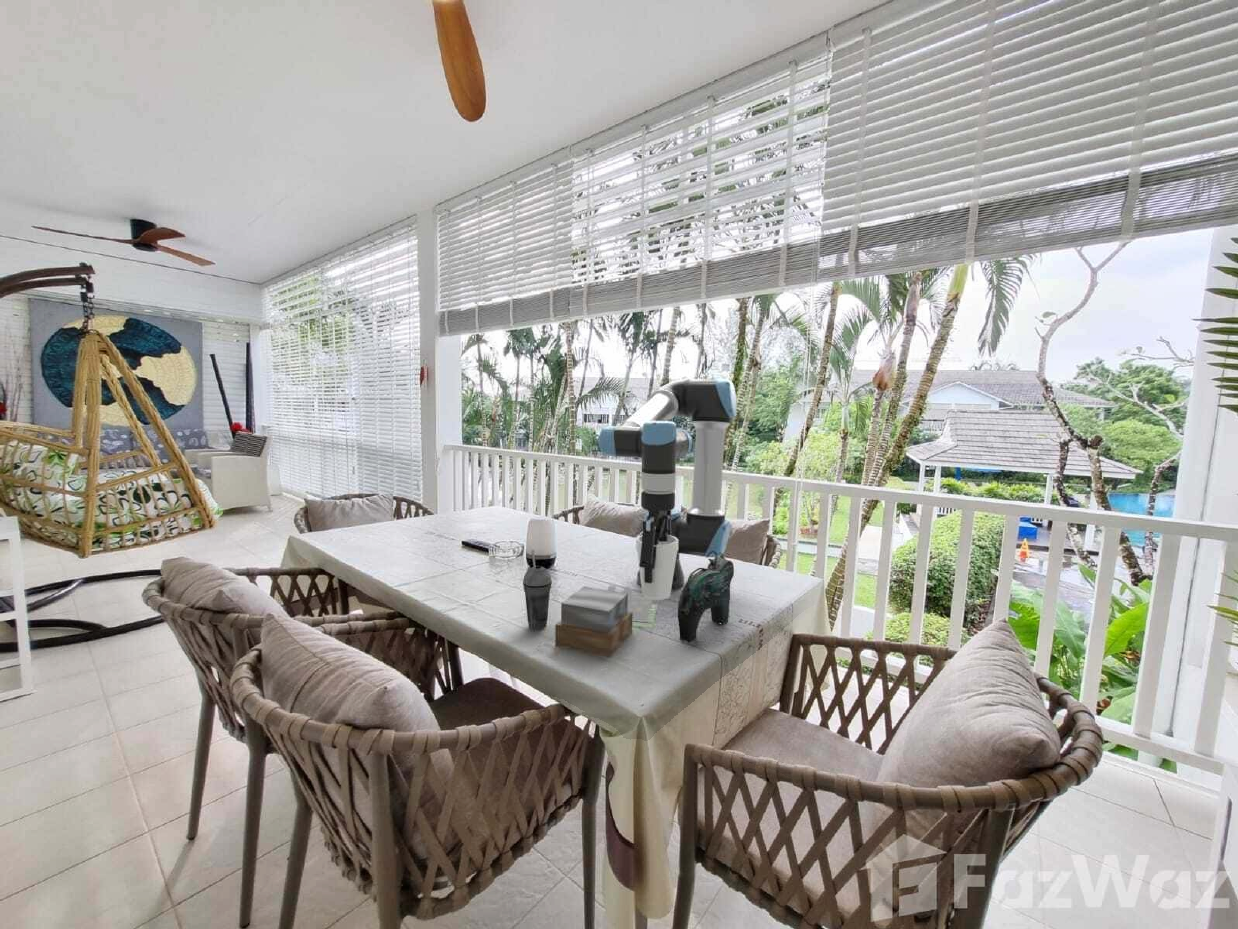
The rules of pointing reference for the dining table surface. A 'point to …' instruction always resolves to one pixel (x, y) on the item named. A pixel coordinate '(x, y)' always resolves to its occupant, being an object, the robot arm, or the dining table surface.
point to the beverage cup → (537, 595)
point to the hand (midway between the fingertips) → (656, 587)
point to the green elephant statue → (705, 596)
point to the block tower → (594, 621)
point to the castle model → (639, 608)
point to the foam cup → (661, 566)
